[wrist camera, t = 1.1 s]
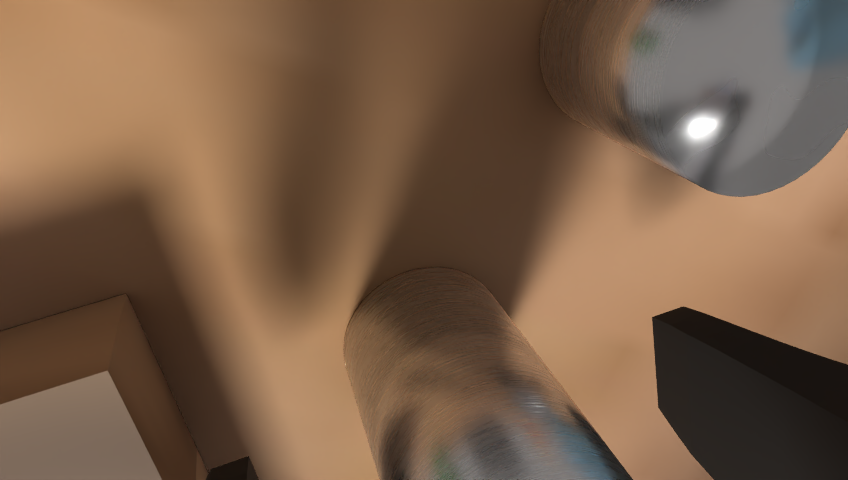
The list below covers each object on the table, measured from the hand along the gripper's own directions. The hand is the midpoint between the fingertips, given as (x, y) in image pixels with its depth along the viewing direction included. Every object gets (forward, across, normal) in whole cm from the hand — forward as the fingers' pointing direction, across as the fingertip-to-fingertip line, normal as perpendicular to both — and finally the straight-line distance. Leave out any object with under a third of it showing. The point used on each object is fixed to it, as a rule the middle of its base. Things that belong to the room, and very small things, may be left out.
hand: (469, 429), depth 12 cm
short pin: (+3, -5, -5) cm, 8 cm away
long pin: (+3, 0, 0) cm, 3 cm away
